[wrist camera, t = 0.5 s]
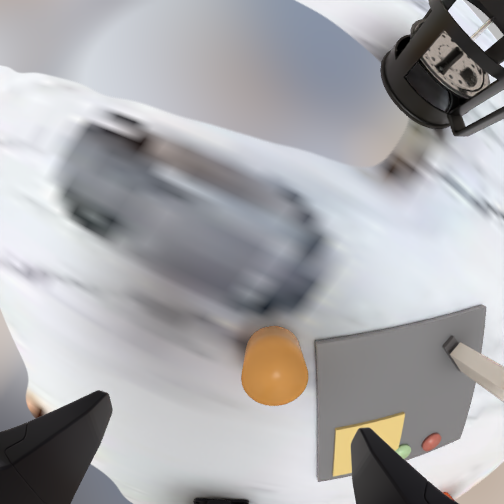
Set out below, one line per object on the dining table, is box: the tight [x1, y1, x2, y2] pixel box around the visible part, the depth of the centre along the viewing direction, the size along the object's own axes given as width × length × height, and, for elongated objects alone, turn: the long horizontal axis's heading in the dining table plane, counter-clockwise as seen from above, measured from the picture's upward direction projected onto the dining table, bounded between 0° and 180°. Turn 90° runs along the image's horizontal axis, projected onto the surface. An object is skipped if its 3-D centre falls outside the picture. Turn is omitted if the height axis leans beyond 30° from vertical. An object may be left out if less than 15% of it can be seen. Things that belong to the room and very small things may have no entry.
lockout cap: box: [241, 326, 308, 406], centre depth 20 cm, size 4×4×5 cm
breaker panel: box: [315, 305, 486, 482], centre depth 22 cm, size 17×18×1 cm
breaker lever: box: [450, 342, 504, 402], centre depth 14 cm, size 2×3×11 cm, turn 44°
